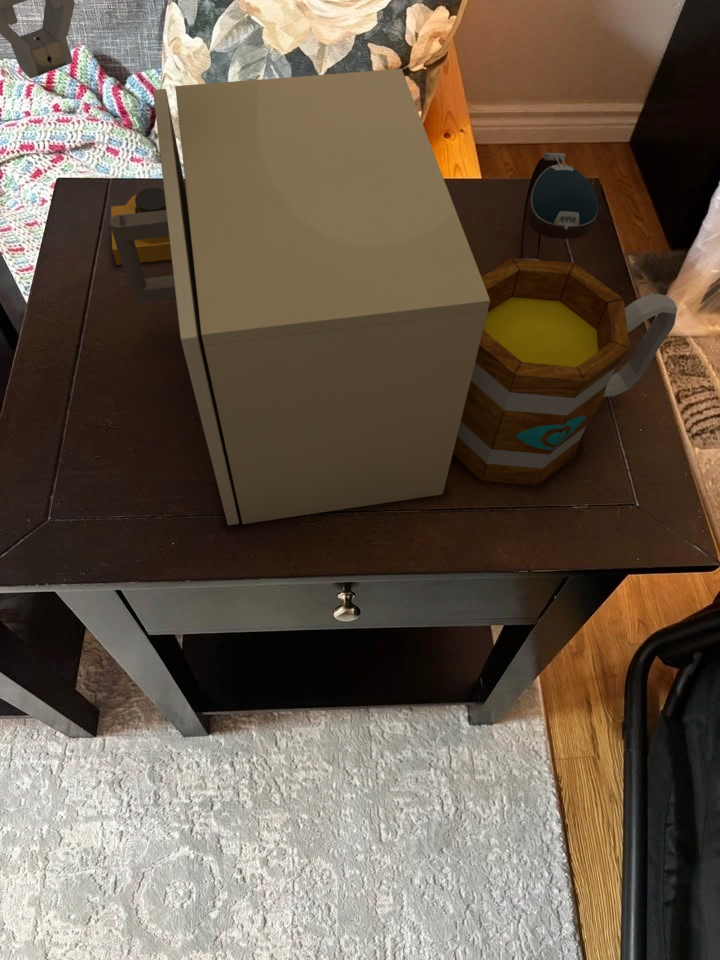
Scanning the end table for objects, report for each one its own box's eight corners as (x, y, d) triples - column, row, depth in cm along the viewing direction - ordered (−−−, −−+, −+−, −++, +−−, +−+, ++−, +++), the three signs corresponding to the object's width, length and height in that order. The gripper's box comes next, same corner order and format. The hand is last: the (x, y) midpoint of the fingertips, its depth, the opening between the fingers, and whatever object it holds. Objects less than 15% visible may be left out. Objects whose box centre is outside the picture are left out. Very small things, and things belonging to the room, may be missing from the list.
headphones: (576, 384, 73) (551, 247, 87) (624, 253, 61) (586, 117, 74) (512, 381, 73) (497, 244, 87) (547, 249, 61) (523, 114, 74)
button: (139, 225, 80) (135, 211, 78) (137, 202, 81) (134, 189, 80) (173, 221, 80) (170, 208, 78) (171, 199, 82) (168, 185, 80)
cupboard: (242, 524, 65) (201, 334, 45) (216, 308, 78) (175, 85, 58) (442, 494, 67) (490, 300, 47) (384, 289, 81) (401, 68, 60)
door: (159, 537, 64) (80, 352, 44) (142, 316, 77) (75, 96, 57) (239, 524, 65) (197, 336, 45) (209, 308, 78) (165, 88, 58)
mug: (468, 503, 67) (500, 401, 54) (417, 389, 74) (435, 273, 61) (662, 452, 71) (735, 344, 58) (597, 347, 77) (649, 229, 64)
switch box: (116, 265, 81) (107, 235, 78) (115, 222, 85) (106, 192, 82) (209, 255, 83) (204, 226, 79) (204, 213, 86) (199, 183, 83)
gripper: (109, -276, 41) (160, -4, 53) (-293, -194, 34) (-130, 101, 45) (173, -243, 38) (211, 35, 50) (-245, -146, 31) (-86, 152, 43)
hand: (47, 67), depth 48 cm, fingers closed
